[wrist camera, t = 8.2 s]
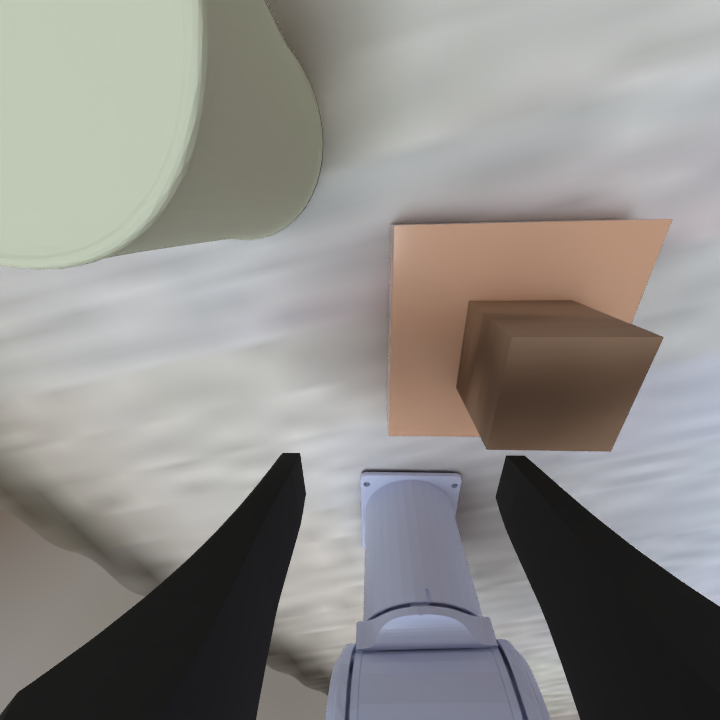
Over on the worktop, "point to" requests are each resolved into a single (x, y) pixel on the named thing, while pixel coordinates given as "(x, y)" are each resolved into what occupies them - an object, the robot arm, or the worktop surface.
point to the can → (148, 128)
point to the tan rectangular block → (495, 296)
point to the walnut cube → (550, 374)
